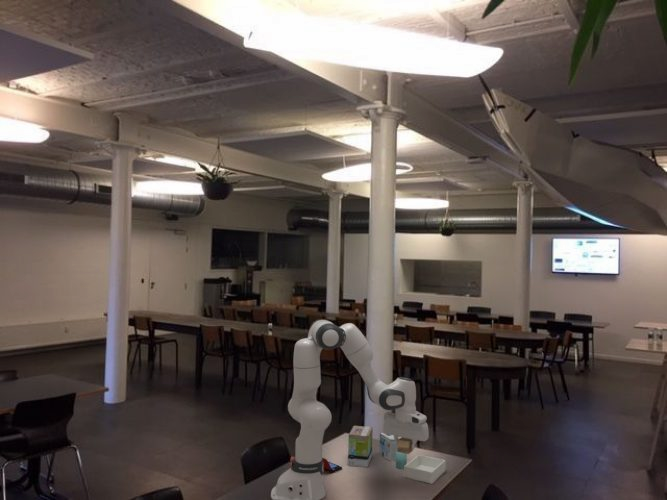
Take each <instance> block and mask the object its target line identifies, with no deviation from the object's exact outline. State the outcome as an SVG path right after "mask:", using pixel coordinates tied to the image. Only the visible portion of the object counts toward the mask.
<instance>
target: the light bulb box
mask: <svg viewBox="0 0 667 500" xmlns="http://www.w3.org/2000/svg"><path fill="white" fill-rule="evenodd" d="M400 438H402V437H398V439H400ZM396 451H398V446H396V441H395V439H394V435H389V434H385V433H384V432H380V433H379V455H380V456H382V457H383V458H385V459H386V460H388V461H389V462H394V461H395V462H396Z"/></svg>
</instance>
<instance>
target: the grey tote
mask: <svg viewBox="0 0 667 500" xmlns="http://www.w3.org/2000/svg"><path fill="white" fill-rule="evenodd" d="M446 465H447V460H446V459H442V458H437V457H432V456H427V455H423V454H418V455H416V456H415V457H413V459H411V460H410V461H408V462H407V464H406V465H405V466H404V469H403V478H404V479H408V480H412V481H416V482H421V483H424V482H425V483H426V484H428V483H429V485H433V484H434V483H435V482H436V481H437V480H438V479H439V478H441V477H442V475H443V474H444V473H446V470H447V466H446ZM425 483H424V484H425Z"/></svg>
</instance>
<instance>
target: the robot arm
mask: <svg viewBox="0 0 667 500" xmlns="http://www.w3.org/2000/svg"><path fill="white" fill-rule="evenodd" d="M337 348H340V349H341V350H342V352H343V353H344V356H345V358H346V359H347V360H348V361H349V362H350V364H351V365H352V366H354V368H355V369H356V370H357V371H358V373H359V375H360V377H361V378H362V381H363V382H364V384H365V387H366V391H367V395H368V399H369V400H370V401H371V403H373V404H375V405H377V406H378V407H380V408H381V409H383V410H385V411H388V412H385V413H384V414H383V427H382V428H383V429H382V433H385V434H389V435H394V439H395V441H396V446H398V440H399V439H398V437H404V438H409V439H412V442H413V444H411V445H410V449H413V450H415V446H416V443H417V442H419V441H420V442H426V441H427V440H428V439H429V438H430V436H429V434H430V433H429V425H428V423H427V420H428V418H427V415H425V414H423V413H421V412H419V411H417V407H416V401H417V388H416V383H415V381H414V380H412V379H411V378H410V377H404V376H398V377H397V378H396V379H395V380H394V381H392V382H391V383H389V384H387V383H386V382H385V381H382V380H381V379H380V378H379V376H378V374H377V373H376V371H375V369H374V367H373V365H372V361H373V360H374V359H373V358H374V352H373V349H372V347H371V345H370V343H369V341H368V339H366V337H365V335H364V334H363V333H362V332H361V330H360V329H359V328H358V326H356V325H355V323H351V322H349V323H348V322H347V323H344V324H341V326H338V325H336V324H334V323H333V322H332V321H330V320H327V319H323V318H321V319H316V320H315V321H313V322H312V323H311V324H310V326H309V329H308V330H307V333H306V334H305V338H301V339H299V340H298V341H296V343H295V344H294V348H293V349H294V350H293V360H292V362H293V391H292V395H291V399H290V400H289V401H288V404H287V411H288V414H289V415H290V416H291V417H292V419H293V420H295V421H296V422H298V423H300V431H299V435H298V436H297V438H296V439H295V442H294V443H295V447H294V448H295V456H291V457H290V465H289V468H288V469H287V470H285V471H284V472H283V473H282V474H281V475H280V476H279V477H278V479H277V483H276V485H274V487H273V488H272V489H271V492H270V498H271V500H322V499H323V498H324V497H326V495H327V492H326V488H325V484H324V477H323V476H324V475H323V473H324V470H323V458H324V457H323V442H324V441H323V440H324V435H325V432H326V430H327V429H328V427H330V424H331V423H332V413H331V411H330V408H328V407H327V405H325V404H324V403H323V402H320V401H319V400H317V393H318V388H319V387H320V386H321V384H322V379H321V377H322V375H321V361H320V360H321V359H320V356H321V353H322V350H326V351H329V350H333V349H337ZM393 410H395V412H389V411H393Z"/></svg>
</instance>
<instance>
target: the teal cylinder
mask: <svg viewBox="0 0 667 500" xmlns="http://www.w3.org/2000/svg"><path fill="white" fill-rule="evenodd" d="M407 456H408V454H405V453H400V452H398V451H396V460H395V468H396V469H397V470H404V466H405V465H406V464H407V463H408V462H407V461H408V460H407V459H408V457H407Z"/></svg>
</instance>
